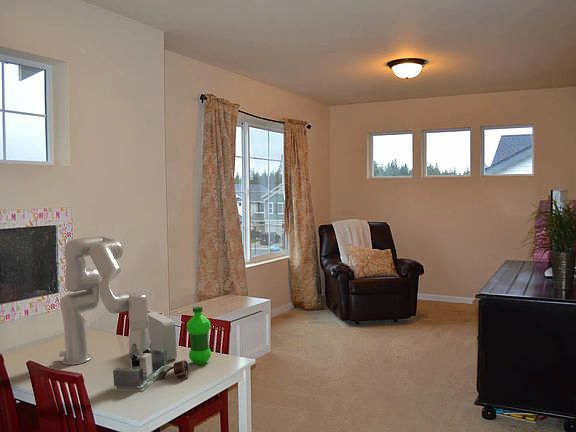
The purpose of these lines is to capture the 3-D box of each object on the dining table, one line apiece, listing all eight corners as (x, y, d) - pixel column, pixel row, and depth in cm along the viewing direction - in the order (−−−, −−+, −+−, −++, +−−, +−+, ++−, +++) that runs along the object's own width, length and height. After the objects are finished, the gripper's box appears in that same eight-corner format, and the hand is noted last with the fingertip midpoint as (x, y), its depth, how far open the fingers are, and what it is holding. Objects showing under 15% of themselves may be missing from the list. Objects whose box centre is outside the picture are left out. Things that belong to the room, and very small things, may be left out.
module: (131, 376, 219) (130, 356, 218) (136, 371, 224) (135, 353, 223) (147, 376, 217) (145, 357, 217) (152, 372, 222) (151, 353, 222)
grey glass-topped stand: (110, 390, 209) (108, 368, 208) (141, 366, 235) (140, 347, 234) (143, 391, 206) (142, 369, 205) (171, 367, 232) (170, 348, 232)
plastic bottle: (195, 358, 244) (192, 304, 242) (216, 359, 240) (213, 305, 239) (184, 365, 234) (181, 309, 233) (205, 367, 231) (202, 310, 229)
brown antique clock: (181, 370, 212) (194, 357, 221) (154, 365, 217) (168, 352, 226) (182, 386, 214) (195, 372, 223) (156, 380, 219) (169, 367, 228)
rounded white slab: (182, 359, 243) (179, 320, 242) (166, 362, 239) (163, 323, 238) (160, 345, 267) (158, 309, 266) (145, 348, 263) (143, 312, 262)
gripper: (140, 319, 228) (142, 358, 229) (120, 330, 211) (122, 372, 212) (156, 319, 227) (158, 358, 228) (137, 330, 210) (140, 372, 211)
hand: (141, 365), depth 220 cm, fingers open, 9 cm apart
